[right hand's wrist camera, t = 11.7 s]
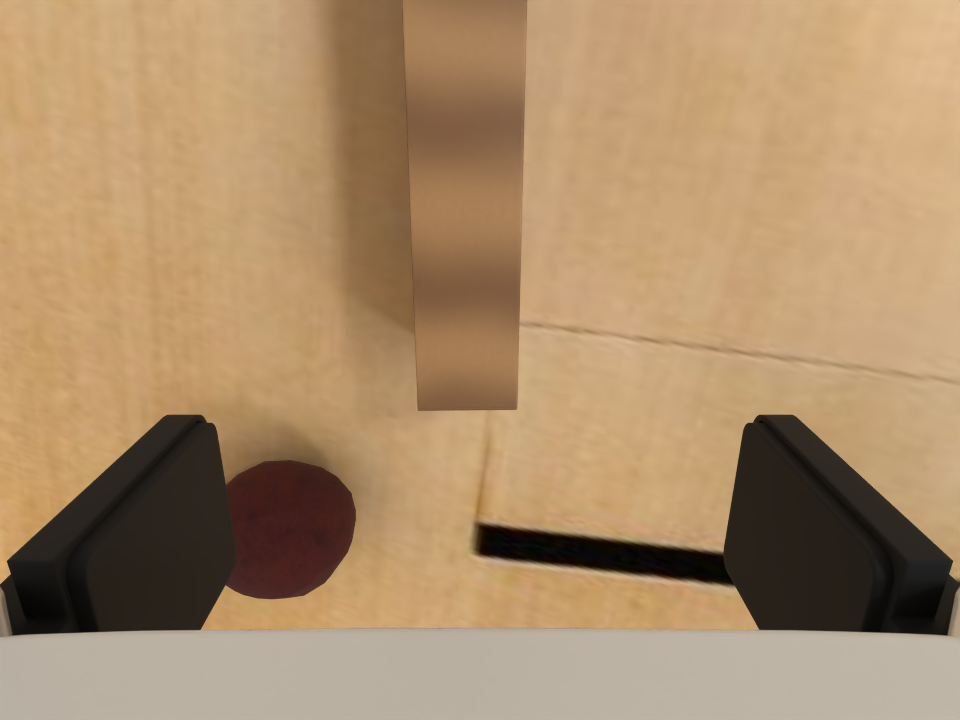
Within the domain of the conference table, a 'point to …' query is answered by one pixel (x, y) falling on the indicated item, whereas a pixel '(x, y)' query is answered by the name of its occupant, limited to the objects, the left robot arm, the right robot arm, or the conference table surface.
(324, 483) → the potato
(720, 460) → the conference table surface
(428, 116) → the bar
